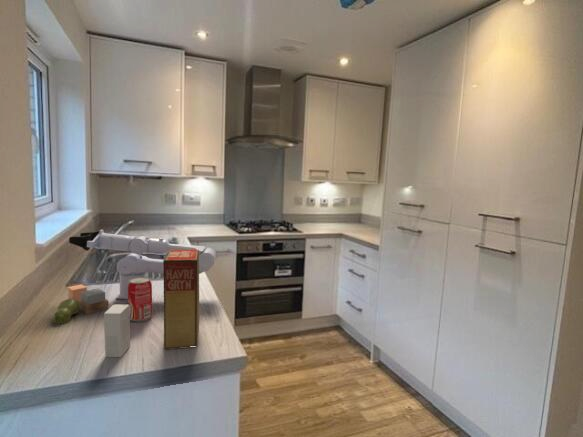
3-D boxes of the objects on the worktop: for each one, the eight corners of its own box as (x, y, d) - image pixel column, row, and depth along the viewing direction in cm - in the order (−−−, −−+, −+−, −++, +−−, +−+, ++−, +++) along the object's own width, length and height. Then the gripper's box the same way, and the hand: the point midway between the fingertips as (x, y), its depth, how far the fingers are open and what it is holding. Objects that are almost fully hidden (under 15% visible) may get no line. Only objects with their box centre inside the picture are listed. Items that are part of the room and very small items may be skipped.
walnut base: (99, 303, 123) (99, 295, 122) (108, 309, 118) (108, 300, 118) (78, 308, 117) (77, 300, 117) (86, 314, 113) (86, 306, 112)
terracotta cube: (82, 296, 128) (81, 284, 127) (86, 299, 125) (86, 287, 124) (68, 299, 124) (67, 287, 124) (72, 302, 121) (72, 290, 121)
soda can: (156, 315, 114) (156, 278, 112) (140, 324, 107) (140, 284, 105) (139, 312, 116) (139, 274, 114) (123, 320, 109) (122, 281, 108)
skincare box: (114, 345, 94) (113, 303, 92) (130, 345, 94) (130, 304, 93) (104, 357, 88) (103, 313, 86) (121, 357, 88) (120, 313, 87)
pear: (81, 295, 113) (67, 312, 104) (83, 309, 115) (69, 327, 106) (63, 295, 112) (47, 312, 103) (65, 309, 114) (49, 328, 105)
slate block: (98, 296, 121) (98, 288, 121) (105, 300, 118) (105, 292, 117) (81, 300, 117) (80, 291, 116) (87, 304, 113) (87, 296, 113)
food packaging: (168, 327, 106) (168, 248, 103) (199, 326, 108) (201, 248, 105) (162, 349, 93) (162, 260, 90) (198, 347, 95) (199, 259, 92)
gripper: (122, 228, 134) (85, 223, 132) (106, 235, 119) (65, 230, 118) (121, 245, 135) (84, 241, 133) (105, 254, 120) (64, 250, 119)
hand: (75, 237), depth 125 cm, fingers open, 7 cm apart
